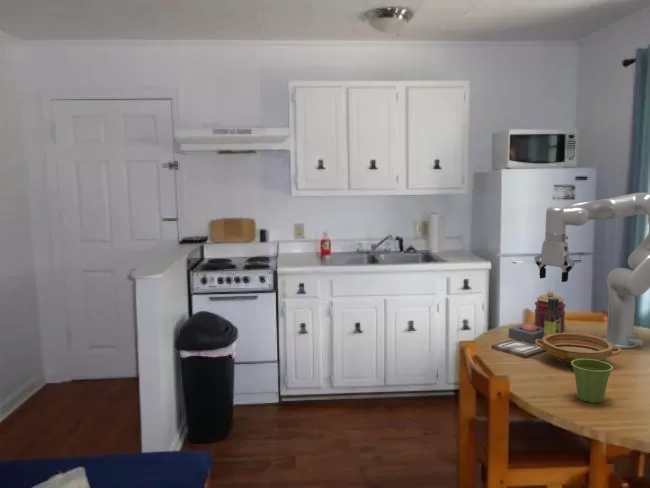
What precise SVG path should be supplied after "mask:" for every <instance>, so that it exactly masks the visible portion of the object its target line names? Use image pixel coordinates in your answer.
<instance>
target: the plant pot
mask: <svg viewBox="0 0 650 488" xmlns="http://www.w3.org/2000/svg"><path fill="white" fill-rule="evenodd" d="M571 364H572V365H573V367H572V369H573V372H574V377H575V385H576V393H577V398H578V400H581V401H583V402H589V403H592V404H596V403H598V404H599V403H602V402H603V401H604V397H605V394H606V389H607V384H608V380H609V377H610V376H611V375H610V374H611V372H612V371H613V368H614V367H613V365H612V364H610V363H608V362H605V361H599V360H594V359H576V360H573V361H572V362H571Z"/></svg>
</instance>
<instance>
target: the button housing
mask: <svg viewBox="0 0 650 488" xmlns="http://www.w3.org/2000/svg"><path fill="white" fill-rule="evenodd" d="M522 325H523V324H520V325H517V326H513V327H510V328H508V338H509V339H510V338H511V339H515V340H518V341H522V342H526V343H528V342H529V344H533V345H535V344H536V343H535V340H536V339H541V340H542V339H543V337H544V328H542V327H538V326H537V331H534V332H529V331H525V330H522ZM534 343H535V344H534Z"/></svg>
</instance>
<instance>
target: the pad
mask: <svg viewBox="0 0 650 488" xmlns="http://www.w3.org/2000/svg"><path fill="white" fill-rule="evenodd" d="M491 349H492V350H495V351H500V352H503V353H506V354H510V355H513V356H517V357H519V358H523V359H529V358H531V357H532V358H533V357H534V356H537V355H540V354H544V353H546V352H547V351H546V350H545V349H543V348H541V347H539V346H538V345H536V344H532V343H528V342H524V341H521V340H517V339H513V338H511V339H509V340H506V341H503V342H499V343H496V344H492V345H491Z"/></svg>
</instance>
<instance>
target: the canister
mask: <svg viewBox="0 0 650 488" xmlns="http://www.w3.org/2000/svg"><path fill="white" fill-rule="evenodd" d="M548 298H558V299H559V302H558V310H559V313H560V316H561V333H564V332H565V328H566V325H565V322H566V311H565V307H566V303H564V301H565V300H564V298H562V296H561V295H560V296H559V295H558V294H557V295H556V294H554V292H553V291H548V292H546V294H541V295H540V296H537V297H536V300H537V301H535V302H534V305H535V308H534V323H533V324H534V325H536V326H538V327H542V328H544V323H545V313H546V311H547V310H548V303H549V302H548Z"/></svg>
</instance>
